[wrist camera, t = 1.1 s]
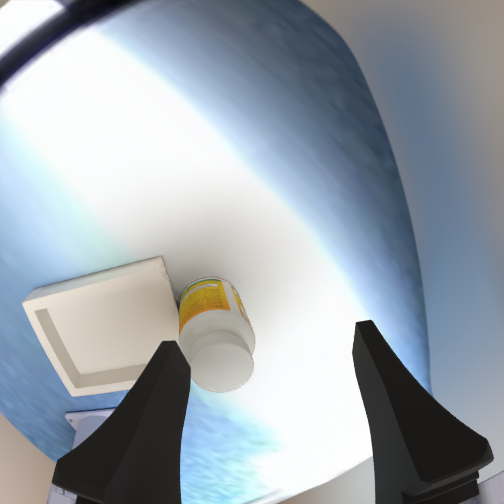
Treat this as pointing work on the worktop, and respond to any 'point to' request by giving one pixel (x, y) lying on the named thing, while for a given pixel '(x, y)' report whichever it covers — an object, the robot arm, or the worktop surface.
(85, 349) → the tray
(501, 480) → the robot arm
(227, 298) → the supplement bottle
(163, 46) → the worktop surface
